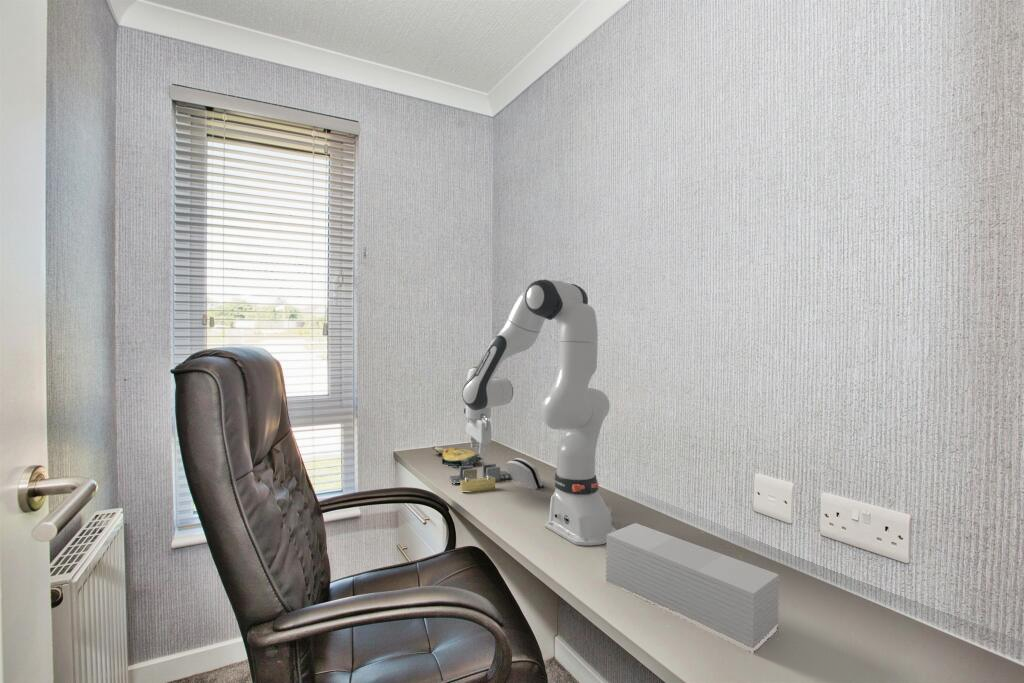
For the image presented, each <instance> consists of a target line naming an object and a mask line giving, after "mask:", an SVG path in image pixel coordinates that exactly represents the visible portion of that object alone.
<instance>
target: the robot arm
mask: <svg viewBox="0 0 1024 683" xmlns="http://www.w3.org/2000/svg"><path fill="white" fill-rule="evenodd" d="M553 319H554V320H555V321H556V322H557V323H558V327H559V336H558V337H559V340H558V341H559V342H558V360H557V361H558V365H557V370H556V373H555V374H556V375H555V378H554V381H553V383H552V387H551V390H550V392H549V393H548V395H547V396H546V397H545V398H544V399H543V401H542V403H541V406H540V414H541V418H542V421H543V422H544V424H545V425H547V427H549V428H550V429H553V430H559V431H564V433H563V434H564V435H563V437H562V439H561V440H560V441H559V443H558V445H557V447H556V472H555V474H554V487H555V489H554V492H553V493H552V495H551V497H550V505H549V514H548V516H549V517H548V520H546V521H545V523H544V527H545V528H546V529H548V530H550V531H551V532H553V533H554V534H557V535H559V536H560V537H562V538H564V539H565V540H567V541H569V542H571V543H572V544H574V545H577V546H600V545H606V544H607V543H606V539H607V538H606V536H607V534H609V533H611V532H614V531H616V530H617V529H616V528H615V526H614V525H613V522H612V513H613V512H612V508H611V507H610V506H607V505H606V503H605V501H604V498H602V496H601V494H600V492H599V488H600V486H599V485H600V483H598V478H597V476H596V451H597V444H598V441H599V440H598V439H599V436H600V432H601V428H602V425H603V422H604V421H605V419H606V417H607V416H608V414H609V412H610V408H611V406H610V405H611V404H610V400H609V398H608V396H607V395H606V394H605V392H603V390H600V389H596V388H592V387H589V384H590V381H591V379H592V376H593V375H594V374H595V372H596V371H597V368H598V341H599V340H598V336H599V335H598V333H599V332H598V323H597V322H598V321H597V315H596V311H595V309H594V308H593V307H592V306H591V305H590V304H589V297H588V295H587V292H586V291H585V290H584V289H583V288H582V287H580V286H579V285H577V284H574V283H568V282H564V281H561V280H555V279H554V280H550V279H549V280H548V279H538V280H535V281H533V282H531V283H530V284H529V285H528V286H527V288H526V290H524V291H523V292H522V293H521V294H520V295H519V296H518V298H517V299H516V301H515V303H514V305H513V306H512V308H511V311H510V313H509V315H508V318H507V320H506V322H505V324H504V325H503V327H502V328H501V329H500V331H499V333H498V334H497V335H496V336H494V338H493V339H492V340H491V341H490V342H489V345H488V346H487V347H486V350H484V353H483V355H482V356H481V358H480V360H479V362H478V364H477V366H474V367H471V368H470V369H468V372H467V377H466V382H465V384H464V386H463V388H462V391H461V393H462V394H461V397H462V400H463V402H464V403H465V407H464V408H463V414H464V428H465V432H466V434H468V435H469V441H470V448H471V449H473V450H475V449H477V448H478V446H479V449H478V454H479V456H485V454H486V447H487V445H490V444H491V443H492V424H491V421H490V420H488V419H491V418H492V408H494V407H499V406H504V405H508V404H509V403H510V402H511V401H512V400H513V396H514V387H513V384H512V382H511V381H510V380H509V379H508V378H506V377H503V376H501V375H499V374H497V373H496V372H497V370H498V368H499V367H500V365H501V364H502V363H503V362H504V361H505V360H507V359H508V358H509V357H512V356H514V355H516V354H519V353H521V352H525V351H527V350H529V349H530V348H531V347H532V346H533V345H534V343H536V341H537V339H538V337H539V335H540V332H541V330H542V327H543V324H544V322H545V320H548V321H552V320H553ZM477 442H478V443H477ZM605 543H606V544H605Z"/></svg>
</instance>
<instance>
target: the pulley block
mask: <svg viewBox="0 0 1024 683" xmlns="http://www.w3.org/2000/svg"><path fill="white" fill-rule="evenodd" d="M432 450H434V451H435V452H436V453H438V454H441V462H442V463H441V464H442V465H443V464H445V465H448V466H455V467H454V468H458V469H459V468H460V467H459V466H472V465H473V466H474V464H475V463H477V462H479V461H481V460H483V461H484V460H485V458H482V457H481V456H480V454H479V453H478V454H476V452H475V451H473V450H469V449H463V448H457V447H446V448H443V447H441V446H432ZM445 465H444V466H445ZM448 466H447V467H448Z"/></svg>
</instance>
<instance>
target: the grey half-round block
mask: <svg viewBox="0 0 1024 683" xmlns="http://www.w3.org/2000/svg"><path fill="white" fill-rule="evenodd" d="M506 467H507V469H506V470H507V473H509V479H511V480H514V481H515V482H518V483H520V484H522V485H524V486H526V487H528V488H531V489H533V490H537V489H538V487H543V488H546V483H545V482H544V481H542V480H541V476H540V474H539V471H538V469H537V467H536V466H535V465H534V464H532V463H531V462H529V461H528V460H526V459H524V458H520V457H516V458H512V459H511V460H509V461H507V462H506Z"/></svg>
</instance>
